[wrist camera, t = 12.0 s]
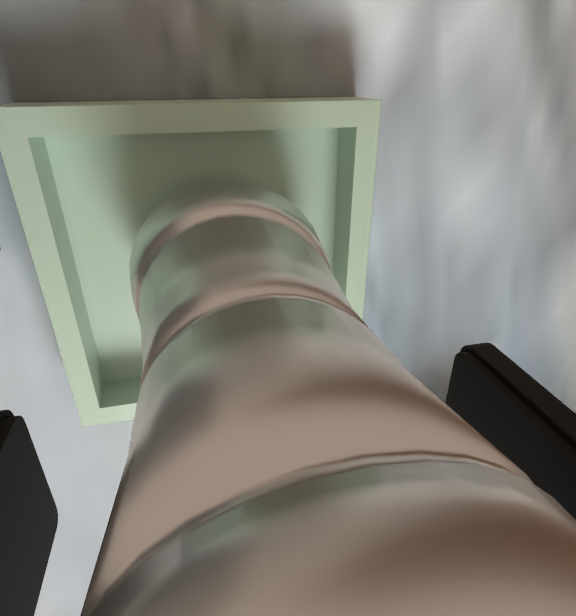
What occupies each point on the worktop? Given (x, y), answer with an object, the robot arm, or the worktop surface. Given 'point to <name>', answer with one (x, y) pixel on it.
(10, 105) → the tray
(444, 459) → the plastic bottle
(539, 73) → the worktop surface
